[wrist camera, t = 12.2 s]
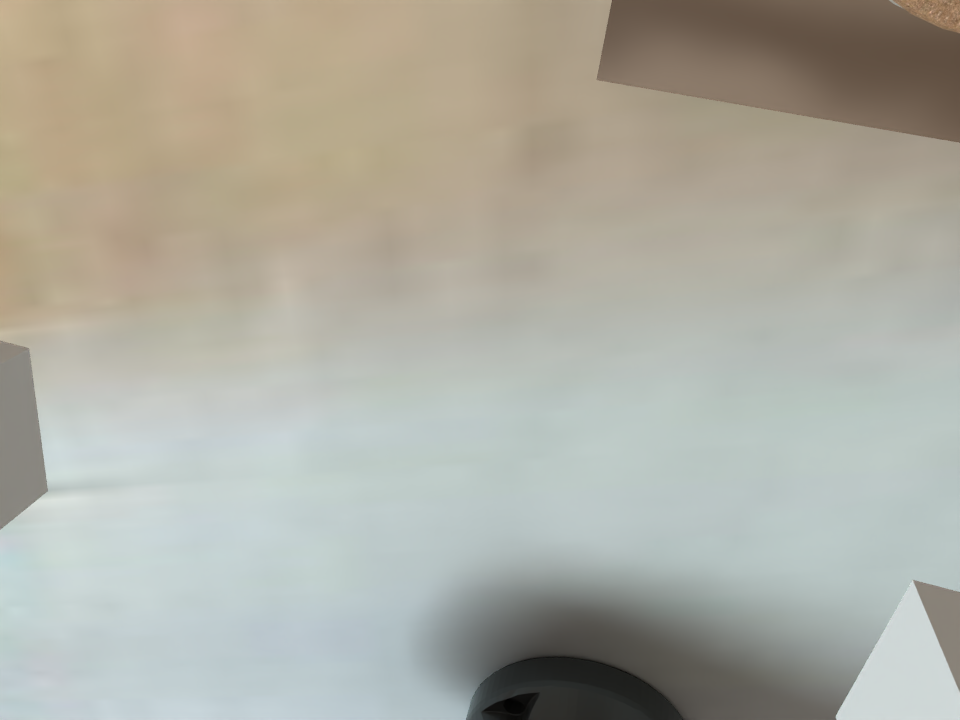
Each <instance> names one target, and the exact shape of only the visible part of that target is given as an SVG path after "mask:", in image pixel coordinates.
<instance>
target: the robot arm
mask: <svg viewBox="0 0 960 720" xmlns="http://www.w3.org/2000/svg"><path fill="white" fill-rule="evenodd" d="M47 491H48V488H47V481H46V473H45V466H44V458H43V451H42V443H41V435H40V428H39V420H38V413H37V405H36V398H35V390H34V383H33V375H32V367H31V360H30V352H29V348H26V347H22V346H18V345H15V344H11V343H7V342H3V341H0V529H2V528H3V527H4V526H5V525H7V524H8V523H9V522H10V521H12V520H13V519H14V518H15V517H16V516H18V515H19V514H20V513H21V512H23V511H24V510H25V509H26V508H28V507H29V506H30V505H31V504H33V503H34V502H35V501H36V500H37V499H39V498H40V497H41V496H42V495H44V494H45V493H46V492H47ZM835 717H836V720H960V592H957V591H953V590H949V589H945V588H942V587H938V586H934V585H930V584H926V583H923V582H919V581H915V580H912V582H911V584H910V585H909V587H908V589H907V591H906V592H905V594H904V596H903V598H902V600H901V601H900V603H899V605H898V607H897V608H896V610H895V612H894V614H893V615H892V617H891V619H890V621H889V623H888V624H887V626H886V628H885V630H884V631H883V633H882V635H881V637H880V638H879V640H878V642H877V644H876V646H875V647H874V649H873V651H872V653H871V654H870V656H869V658H868V660H867V662H866V663H865V665H864V667H863V669H862V670H861V672H860V674H859V676H858V677H857V679H856V681H855V683H854V685H853V686H852V688H851V690H850V692H849V693H848V695H847V697H846V699H845V700H844V702H843V704H842V706H841V708H840V709H839V711H838V713H837V715H836V716H835ZM466 720H683V719H682V717H681V716H680V714H679V713H678V712H677V711H676V709H675V708H674V707H673V706H672V705H671V704H670V703H669V702H668V701H667V700H666V699H665V698H664V697H663V696H662V695H661V694H659V693H658V692H657V691H656V690H654V689H653V688H651V687H650V686H649V685H647V684H645V683H644V682H642V681H640V680H639V679H637V678H635V677H633V676H631V675H629V674H627V673H625V672H622V671H620V670H618V669H615V668H612V667H609V666H606V665H603V664H599V663H595V662H591V661H586V660H580V659H573V658H557V657H553V658H538V659H531V660H526V661H522V662H518V663H515V664H512V665H509V666H507V667H505V668H502V669H501V670H499V671H497V672H495V673H494V674H492V675H491V676H490V677H488V678H487V679H486V680H485V681H484V682H483V683H482V684H481V685H480V686H479V688H478V689H477V691H476V692H475V694H474V696H473V698H472V700H471V703H470V707H469V711H468V714H467V718H466Z"/></svg>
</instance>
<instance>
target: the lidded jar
mask: <svg viewBox="0 0 960 720" xmlns="http://www.w3.org/2000/svg"><path fill="white" fill-rule="evenodd" d="M889 1H891V2H892V3H893V4H895V5H897V6H899V7H901V8H903V9H905V10H906V11H908V12H909V13H910V14H912V15H914V16H916V17H918V18H920V19H923V20H925V21H927V22H929V23H931V24H933V25H935V26H937V27H939V28H942V29H946V30H949V31H953V32H957V33H960V0H889Z"/></svg>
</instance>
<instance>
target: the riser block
mask: <svg viewBox="0 0 960 720" xmlns="http://www.w3.org/2000/svg"><path fill="white" fill-rule="evenodd" d="M597 80H600V81H606V82H612V83H618V84H624V85H629V86H635V87H641V88H647V89H653V90H658V91H664V92H670V93H676V94H682V95H687V96H693V97H699V98H705V99H711V100H716V101H722V102H728V103H734V104H739V105H745V106H751V107H757V108H763V109H768V110H774V111H780V112H786V113H792V114H797V115H803V116H809V117H815V118H821V119H826V120H832V121H838V122H844V123H849V124H855V125H861V126H867V127H873V128H878V129H884V130H890V131H896V132H902V133H907V134H913V135H919V136H925V137H931V138H936V139H942V140H948V141H954V142H959V143H960V33H957V32H953V31H949V30H946V29H942V28H939V27H937V26H935V25H933V24H931V23H929V22H927V21H925V20H923V19H920V18H918V17H916V16H914V15H912V14H910V13H909V12H908V11H906V10H905V9H903V8H901V7H899V6H897V5H895V4H893V3H892V2H891V1H889V0H612V4H611V9H610V14H609V19H608V24H607V29H606V35H605V40H604V45H603V50H602V55H601V60H600V65H599V70H598V76H597Z"/></svg>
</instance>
